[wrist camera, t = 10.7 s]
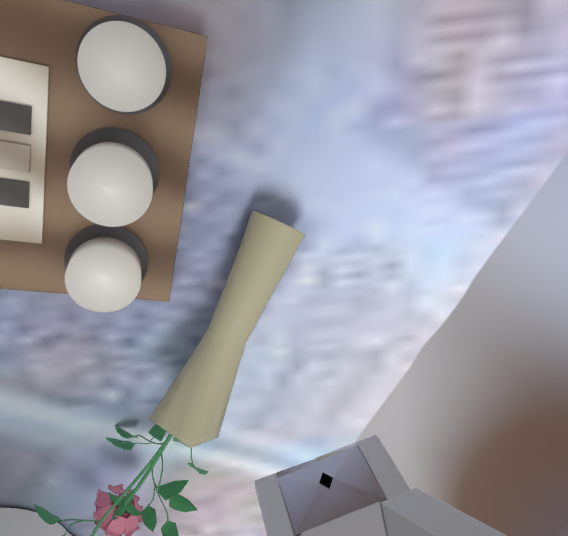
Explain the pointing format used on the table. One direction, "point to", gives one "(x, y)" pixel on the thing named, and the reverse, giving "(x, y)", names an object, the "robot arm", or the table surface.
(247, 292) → the flower vase
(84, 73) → the outer button
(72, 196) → the middle button
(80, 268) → the inner button
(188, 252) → the table surface
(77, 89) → the button board
